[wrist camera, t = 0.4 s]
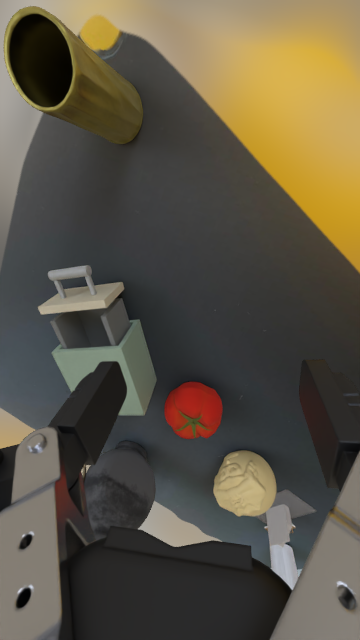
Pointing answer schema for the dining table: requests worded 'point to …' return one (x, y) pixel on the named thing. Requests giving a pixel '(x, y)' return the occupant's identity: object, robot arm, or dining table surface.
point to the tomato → (193, 410)
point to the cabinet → (131, 361)
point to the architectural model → (283, 516)
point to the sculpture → (245, 484)
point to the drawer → (86, 311)
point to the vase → (69, 77)
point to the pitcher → (119, 489)
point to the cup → (284, 564)
